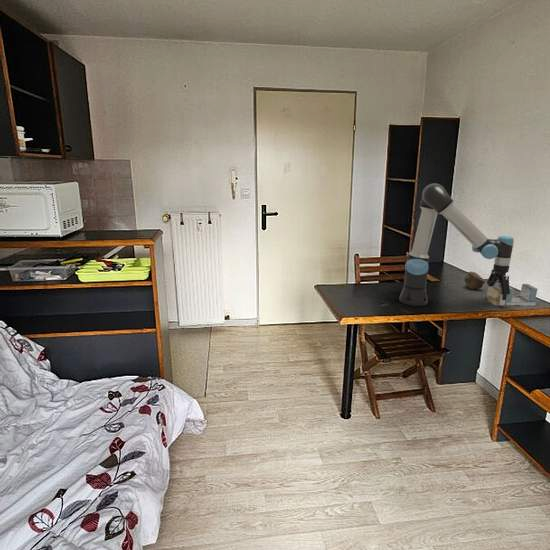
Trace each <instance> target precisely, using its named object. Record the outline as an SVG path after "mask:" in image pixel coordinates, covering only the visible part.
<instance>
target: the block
mask: <svg viewBox="0 0 550 550" xmlns="http://www.w3.org/2000/svg"><path fill="white" fill-rule="evenodd" d="M488 287H489V286H488ZM501 293H502V290H501V289H500V288H499V286H498V287H497V286H494V287H489V292H488V291H487V294H488V297H486V298H487V300H488V301H487V302H489V303H490V302H491V303H490V304H492V303H493V304H494V305H493V304H492V305H493V306H500V305H499V303H500V297H501Z"/></svg>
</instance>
